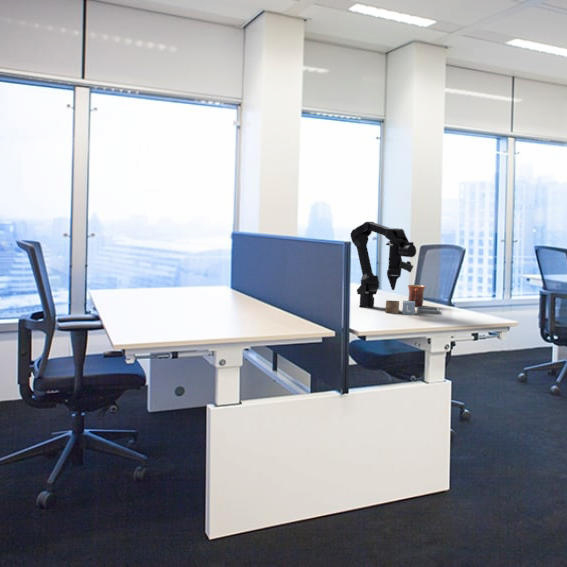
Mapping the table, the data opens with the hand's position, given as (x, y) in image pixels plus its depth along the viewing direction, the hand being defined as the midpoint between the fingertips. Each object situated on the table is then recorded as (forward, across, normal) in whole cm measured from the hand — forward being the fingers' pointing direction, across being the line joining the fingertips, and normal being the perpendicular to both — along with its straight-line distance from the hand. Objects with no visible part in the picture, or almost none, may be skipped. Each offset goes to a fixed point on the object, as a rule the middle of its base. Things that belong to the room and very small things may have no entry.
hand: (393, 288), depth 278 cm
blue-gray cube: (+11, 0, -8) cm, 13 cm away
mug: (+11, +24, -11) cm, 29 cm away
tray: (+11, +8, -16) cm, 21 cm away
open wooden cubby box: (+11, 0, 0) cm, 11 cm away
